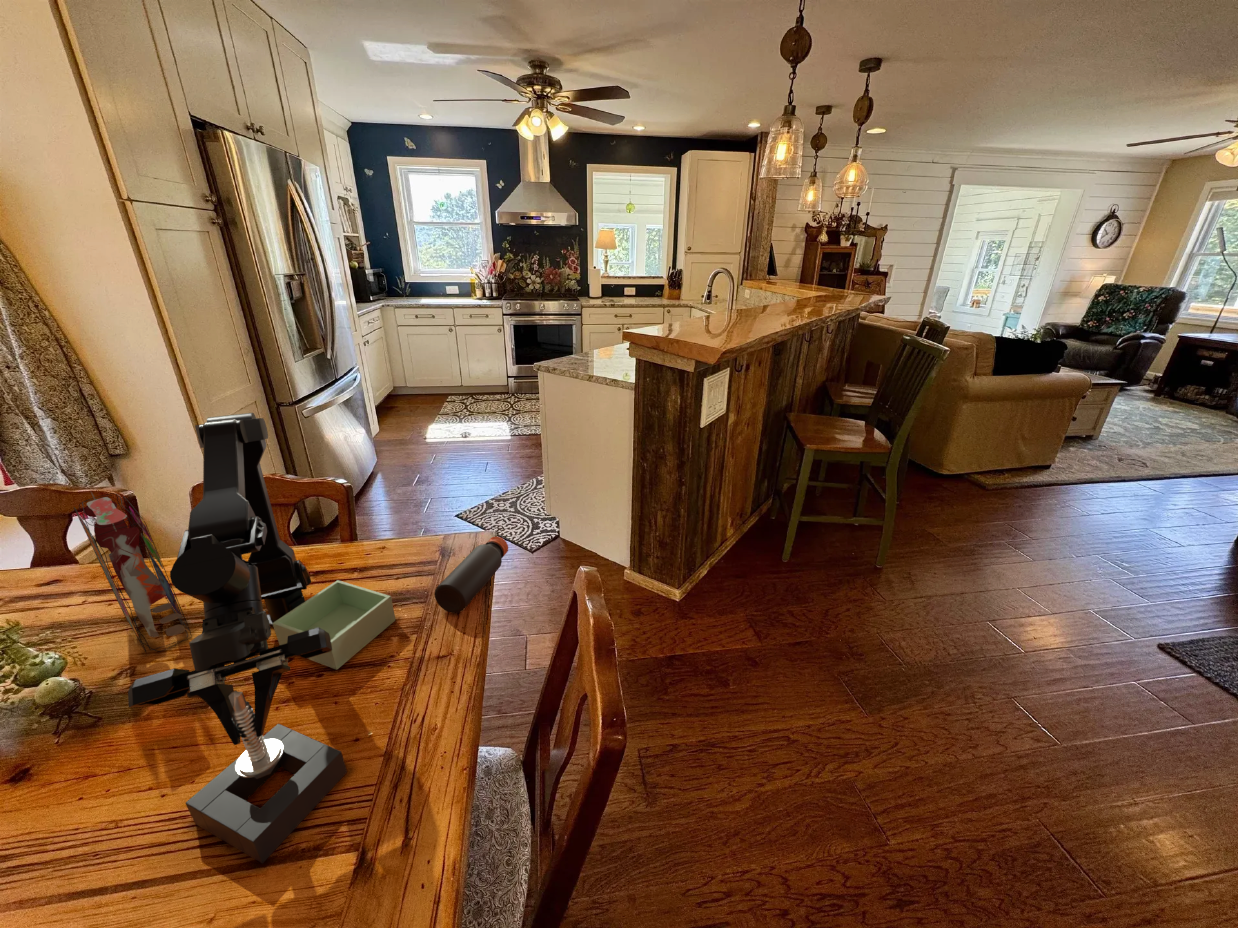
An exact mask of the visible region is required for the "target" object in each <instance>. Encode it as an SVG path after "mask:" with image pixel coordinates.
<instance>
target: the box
mask: <svg viewBox="0 0 1238 928" xmlns="http://www.w3.org/2000/svg"><path fill="white" fill-rule="evenodd" d="M90 494H91V496H92V498H89V499H86V500H84V501H82V502H80V503H79V504H78V508H79V510H80V512H81V515H82V517H83V518H82V517H81V515H80V514H79V512H78V510H77V509H76V507H75V506H73V509H74V511H75V513H76V516H77V518H78V520H79V522H80V524H81V526H82V528H83V530H84V532H85V534H86V537H87V539H88V542H89V543H90V546H91V547H92V550H93V551H94V553H95V555H96V558H97V560H98V562H99V564H100V567H101V569H102V570H103V573H104V575H105V577H106V579H107V582H108V585H109V586H110V588H111V590H112V592H113V594H114V596H115V599H116V601H117V603H118V605H119V607H120V609H121V611H122V614H123V616H124V617H125V619H126V621H127V623H128V624H129V626H130V628H131V629H132V631H133V633H134V634H135V636H136V639H138V641H139V643H140V645H141V647H142V649H143V650H144V652H145V653H146V654H147V649H146V648H145V646H146V647H148V649H149V650H151V651H155V652H159V653H161V652H163V651H166V650H168V649H170V648H172V647H174V646H176V645H178V644H180V643H182V642H184V641H188V640H190V639H192V638H193V635H192V632H191V629H190V627H189V625H188V622H187V619H186V617H185V614H184V612H183V610H182V606H181V604H180V602H179V600H178V597H177V594H176V593H175V590H174V588H173V585H172V582H171V580H170V577H169V576H168V573H167V570H166V568H165V566H164V564H163V561H162V559H161V556H160V554H159V552H158V550H157V547H156V545H155V542H154V540H153V538H152V535H151V532H150V530H149V527H148V525H147V523H146V522H145V520H144V518H143V517H142V516H141V514H140V513H139V512H138V511H137V510H136V508H135V507H134V506H133V505H132V503H131V502H130V501H129V500H128V499H127V497H125V496H123V495H122V497H123V500H122V498H121V495H119V493H115V492H111V493H110V495H109V493H107V494H103V495H99V496H95V495H94V494H93V492H92V491H90ZM113 495H115V496H116V501H114V500H112V498H110V497H112V496H113ZM119 499H120V502H119ZM123 501H124V503H125V505H126V507H125V506H124V505H123ZM126 501H127V502H128V503H129V504H130V505H128V504H127V502H126ZM84 503H86V505H85V507H84ZM80 505H82V506H81V507H82V509H81V507H80ZM118 506H119V507H120V509H121V510H119V508H118ZM82 510H83V511H82ZM125 510H126V511H127V512H128V514H129V515H130V518H129V517H128V515H127V513H126V512H125ZM85 515H86V516H87V517H90V518H96V519H95V520H96V522H95V523H94V524H90V523H89V521H87V519H86V517H85ZM126 518H127V519H126ZM125 519H126V520H125ZM130 519H131V520H132V522H131V520H130ZM127 521H128V522H129V523H130V524H129V525H128V524H127V523H126V522H127ZM132 523H133V524H132ZM89 525H90V526H92V527H93V532H94V533H93V534H94V535H93V534H92V532H91V531H90V527H89ZM136 525H138V526H136ZM130 526H131V527H130ZM133 526H134V527H133ZM139 528H140V529H141V532H140V529H139ZM144 534H145V535H146V536H147V537H148V538H147V537H146V536H144ZM140 541H141V542H140ZM141 544H142V547H143V548H144V551H145V554H146V556H147V558H148V561H149V563H150V566H151V568H152V570H153V571H152V570H151V569H150V568H149V567H148V565H147V564H146V561H145V559H144V555H143V552H142V547H141ZM100 549H101V551H102V552H103V555H104V557H105V559H104V557H103V555H102V553H101V551H100ZM104 549H108V551H109V552H110V553H109V554H108V558H109V560H110V562H111V565H112V568H113V570H114V573H115V574H116V577H117V578H116V579H115V577H114V575H113V571H112V570H111V568H110V566H109V562H108V558H107V555H106V552H105V551H104ZM105 560H106V562H105ZM163 570H164V572H165V573H164V572H163ZM117 580H119V581H117ZM119 583H120V585H121V586H122V588H123V590H124V592H125V593H126V595H127V597H128V598H129V599H130V600H131V603H132V607H133V609H134V610H133V609H131V606H130V604H129V601H128V600H127V599H126V597H125V596H124V594H123V592H122V590H121V587H120V585H119ZM164 598H165V599H166V601H167V602H168V603H167V602H166V603H164V604H160V605H158V606H155V607H153V608H151V606H152V605H154V604H155V603H157V602H159V601H161V600H162V599H164ZM128 609H129V611H130V612H129V611H128ZM168 610H172V612H173V613H171V614H170V613H169V614H168V615H166V616H163V617H162V618H160V619H159V620H158V621H159V623H160V624H167V623H169V622H172V621H175V620H179V622H180V624H175V625H173V626H170V627H168V628H165V634H166V636H168V637H174V636H178V635H181V634H182V633H184V632H186V639H183V640H178V641H175V642H171V643H169V644H166V645H163V646H159V647H155V648H152V647H151V646H149V643H148V641H147V640H146V638H145V636H144V635H143V633H142V632H141V630H140V629H139V627H138V624H137V622H136V621H137V620H136V619H137V618H138V620H139V621H140V622H141V623H142V625H143V628H145V631H146V632H147V634H148V636H149V637H150V638H158V637H160V635H159V632H158V631H157V629H156V627H155V623H154V619H153V616H152V613H154V614H158V613H163V612H166V611H168ZM133 612H135V614H136V617H134V615H133ZM183 619H184V621H185V622H184V621H183ZM185 623H186V624H185ZM186 629H187V630H188V631H189V634H188V631H187V630H186ZM188 635H190V636H191V637H189V636H188ZM141 637H142V638H143V639H144V642H145V643H144V642H143V641H142V638H141ZM188 637H189V638H188ZM187 638H188V639H187ZM172 644H173V645H172ZM169 645H170V646H169ZM167 646H169V647H167ZM165 647H167V648H165ZM161 648H165V649H162V650H157V649H161Z"/></svg>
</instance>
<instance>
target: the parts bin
mask: <svg viewBox="0 0 1238 928" xmlns="http://www.w3.org/2000/svg"><path fill="white" fill-rule="evenodd" d="M396 619H397V618H396V614H395V610H394V605H393V599H392V596H391V595H389V594H385V593H381V592H379V591H375V590H373V589H369V588H365V587H363V586H359V585H355V584H352V583H349V582H345V581H342V580H339V579H337V580H336V581H334V582H332V583H331V584H329V585H328V586H326V587H325V588H323V589H322V590H320V591H319V592H317V593H316V594H314V595H313V596H311V597H310V598H308V599H307V600H305V602H304V603H302V604H301V605H299V606H298V607H296V608H295V609H293V610H292V611H290V612H289V613H287V614H286V615H284V616H283V617H281V618H280V619H278V620H277V621H275V622H274V623H272V624H273V626H272V627H273V630H274V633H275V635H276V639H277V642H278V646H279V645H283V644H286V643H287V640H288V636H290V635H293V634H297V633H300V632H304V631H307V630H311V629H314V628H318V627H319V628H321V629H323V630H325V631H326V632H328V633H329V635H330V639H331V645H332V651H329V652H327V653H323V654H320V655H317V656H314V657H310V658H307V659H306V660H310V661H312V662H315V663H318V664H319V665H320V664H321V665H323V666H325V667H328V668H331V669H333V670H339V669H340V668H341V667H342V666H343V665H344V664H345V663H348V661H350V660H351V659H352V658H353V657H354V656H355V655H356V654H357V653H359V652H360V651H361V650H362V649H363V648H364V647H366V646H367V645H368V644H370V642H372V641H373V640H374V639H375V638H376V637H378V635H380V634H381V633H383V632H384V631H385V630H386V629H387V628H389V626H390V625H392V624H393V623H394V622H395V621H396Z"/></svg>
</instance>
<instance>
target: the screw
mask: <svg viewBox="0 0 1238 928" xmlns="http://www.w3.org/2000/svg"><path fill="white" fill-rule="evenodd" d="M228 697H229V699H230V702H231V704H232V707H233V712H232V715H233V719H235V720H234V722H235V723H236V726H237V729H238V730H239V733H240V738H241V741H242V744H243V746H244V748H245V750H244V751H243V752H242V754H241V755H239V759H238V760H237V763H236V767H235V769H236V772H237V774H238V775H239V776H241V777H243V778H252V777H255V778H256V779H258V778H261V777H263V776H266V775H268V774H270V773H271V772H272V770H273V769H274V767H275V766H276V765H277V763H278V761H279V760H280V759H281V757H282V755H283V753H284V746H283V744H282V742H281V741H279V740H277V739H266V740H264V738H263V736H264V734H263V735H262V736H260V737H257V735H256V729H255V711H254V709H253V707H252V705H251V704H250V702H249V701H248V700H246V696H245V695H244V693H243V691H237V690H236V689H234V691H233V692H231V693H230V694H229V696H228Z"/></svg>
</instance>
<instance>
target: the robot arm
mask: <svg viewBox="0 0 1238 928" xmlns="http://www.w3.org/2000/svg"><path fill="white" fill-rule="evenodd" d="M194 428H195V432H196V436H197V439H198V444H199V448H200V449H203V451H202V453H203V454H202V455H203V456H202V457H203V459H202V461H203V462H202V463H203V465H202V467H203V468H202V470H203V472H202V473H203V474H202V475H203V476H202V480H203V481H202V499H201V500H199V502H198V503H197V504H196V505H195V506H194V507H193V508H192V509H191V510H190V512H189V518H188V519H189V520H188V526H187V527H188V528H187V529H185V530H184V532H183V535H182V539H181V543H180V546H179V550H178V553H177V556H176V559H175V561H174V563H173V564H172V567H171V570H170V571H169V579H170V583H171V585H172V586H173V587H174V588H175V589H177V591H179V592H180V593H183V594H185V595H187V596H189V597H192V598H194V599H196V600H198V601H200V602H202V603H203V613H204V614H203V615H204V619H202V623H201V627H202V632H201V633H200V634H198V635H197V636H195V637H194V638H193V639H192V640H191V641H189V642H188V645H189V649H190V654H191V658H192V663H193V670H190V669H182V668H171V669H168V670H164V671H160V672H158V673H157V672H156V673H154V674H150V675H146V676H143V677H140V678H137V679H135V680H134V681H133V682H132V684H131V685H130V686H129V689H128V691H127V699H128V700H127V701H128V702H127V703H128V708H145V707H153V706H157V705H161V704H165V703H167V702H171V701H174V700H178V699H180V698H184V697H187V699H201V700H202V701H203V702H204V703H206V704H207V706H209V707H210V709H211V710H212V711H213V713H214V714H215V715H216V717H217V719H218V720H219V722H220V724H221V725H222V727H223V729H224V731H225V732H226V734H227V736H228V737H229V739H230V741H231V743H232V744H233V746H237V745H240V744H241V737H240V733H239V730H238V729H237V726H236V723H235V722H234V720H235V719H233V715H232V712H233V707H232V704H231V702H230V699H229V697H228V696H229V694H230V693H231V692H233V691H235V689H234V685H233V684H226V682H225V681H227V677H231V676H234V675H237V674H242V673H244V672H247V671H250V670H254V669H257V670H258V671H254V672H252V673H251V679H252V682H253V687H254V714H255V729H256V735H257V737H260V736H262V735H263V736H264V732H265V729H266V725H267V722H268V717H269V715H270V709H271V706H272V703H273V699H274V696H275V694H276V692H277V689H278V686H279V683H280V681H281V679H282V676H283V674H285V673H288V672H290V671H291V670H292V669H291V666H290V665H289V664H288V662H289V659H291V658H293V657H301V658H303V659H305V660H308V659H307V658H310V657H314V656H317V655H320V654H323V653H327V652H329V651H332V645H331V639H330V635H329V633H328V632H326V631H325V630H323V629H321V628H319V627H318V628H314V629H311V630H307V631H304V632H300V633H297V634H293V635H290V636H288V640H287V643H286V644H283V645H279V644H278V645H276V646H272V647H270V648H269V644H268V640H269V638H270V637H271V636H272V629H271V627H273V624H272V623H274V622H275V621H277V620H278V619H280V618H281V617H283V616H284V615H286V614H287V613H289V612H290V611H292V610H293V609H295V608H296V607H298V606H299V605H301V604H302V603H304V602H305V601H306V599H305V596H304V593H303V591H305V590H307V589H308V586H309V585H310V584H312V579H311V576H310V572H309V570H308V568H307V567H306V566H305V564H303V562H302V561H301V559H297V557H296V553H295V550H294V548H292V547H291V546H290V545H289V544H287V543H285V542H284V541H283V540H282V539H281V538H280V534H279V530H278V526H277V523H276V519H275V515H274V512H273V508H272V504H271V500H270V495H269V493H268V489H267V484H266V482H265V481H266V480H265V478H264V477H265V476H264V473H263V469H262V466H261V461H262V458H263V456H264V453H265V450H266V448H267V441H266V440H267V439H269V433H268V427H267V423H266V421H265V419H264V417H257V416H256V415H255V413H254V412H246V413H235V414H227V415H217V416H208V417H207V418H206V421H205V422H204V423H200V424H197V425H196V424H195V425H194ZM247 554H248V555H249V556H248V559H247V560H246V559H243V555H247ZM263 601H264V603H265V607H266V610H267V612H266V610H264V607H263ZM267 613H268V614H267Z"/></svg>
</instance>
